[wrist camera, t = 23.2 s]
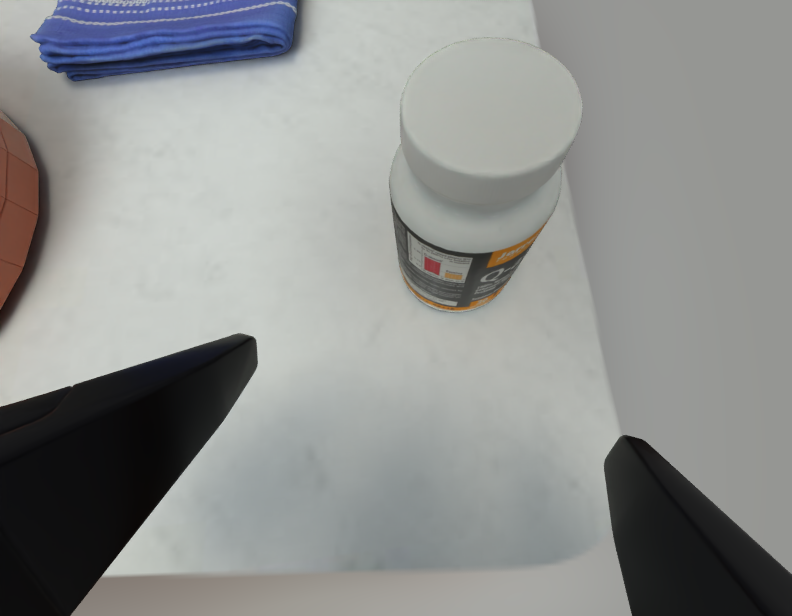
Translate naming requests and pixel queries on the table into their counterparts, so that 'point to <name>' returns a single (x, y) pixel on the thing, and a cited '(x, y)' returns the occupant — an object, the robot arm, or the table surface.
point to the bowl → (15, 203)
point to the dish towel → (161, 34)
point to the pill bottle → (478, 166)
